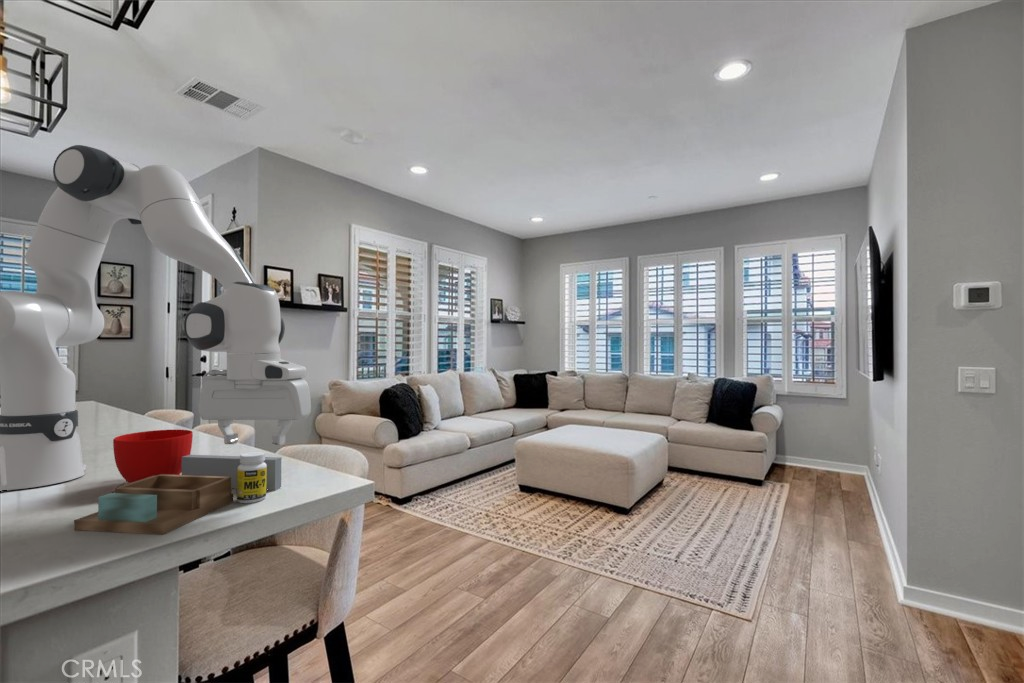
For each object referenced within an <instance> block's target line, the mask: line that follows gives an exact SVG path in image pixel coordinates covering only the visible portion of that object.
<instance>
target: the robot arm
mask: <svg viewBox="0 0 1024 683" xmlns="http://www.w3.org/2000/svg"><path fill="white" fill-rule="evenodd" d="M52 167H53V168H52V173H53V179H54V181H55V184H56V185H57V188H56V189H55V190H54V191H53V193H52V194H51V195H50V197H49V199H48V200H47V202H46V204H45V205H44V208H43V210H42V211H41V214H40V215H39V218H38V221H37V224H36V225H35V228H34V231H33V233H32V236H31V238H30V241H29V245H28V247H27V250H26V253H25V257H24V258H25V262H26V264H27V265H28V267H29V268H31V270H33V272H34V273H35V277H36V291H35V292H33V293H32V292H26V291H25V292H24V291H18V290H2V291H0V491H1V492H3V491H2V490H7V491H12V490H13V491H14V490H23V489H29V488H30V489H31V488H37V487H43V486H49V485H54V484H59V483H64V482H68V481H71V480H75V479H78V478H80V477H83V476H84V475H85V473H86V472H85V470H87V464H85V463H83V456H82V455H83V454H82V446H81V439H80V435H79V433H78V432H77V427H78V426H79V419H80V417H79V411H78V410H77V409H76V394H77V393H76V390H77V388H76V387H77V386H76V385H77V384H76V382H77V381H76V380H77V378H76V374H75V373H74V372H73V371H72V370H71V369H70V368H68V367H67V366H66V365H64V363H63V362H62V360H61V358H60V356H59V352H58V350H57V347H73V346H78V345H82V344H87V343H91V342H93V341H95V340H96V339H97V338H98V337H100V335H102V333H103V331H104V328H105V317H104V315H103V312H102V311H101V309H99V307H98V306H97V301H96V295H95V294H96V293H95V290H96V289H95V286H96V277H97V272H98V269H99V267H100V263H101V262H102V261H101V260H102V258H103V255H104V252H105V249H106V246H107V244H108V241H109V237H110V235H111V232H112V229H113V227H114V225H115V223H117V222H119V221H120V220H125V219H127V220H128V221H129V223H130V224H131V225H142V228H143V230H144V232H145V233H144V234H145V235H146V236H147V238H148V239H149V241H150V242H151V244H152V245H153V246H154V248H156V250H157V251H159V252H160V253H161V254H163V255H165V256H167V257H168V258H171V259H173V260H175V261H179V262H180V263H184V264H187V265H189V266H191V267H194V268H196V269H198V270H200V271H202V272H205V273H206V274H209V275H210V276H212V277H213V278H214V279H216V280H217V281H218V282H219V283H220V284H221V286H222V287H223V289H224V290H225V291H224V292H223V293H222V294H220V295H217V296H216V297H214V298H211V299H209V300H207V301H202V302H201V301H200V302H198V303H196V304H195V305H193V306H192V307H191V308H190V309H189V310H188V312H187V314H186V316H185V317H184V322H183V326H184V327H183V328H184V329H183V330H184V333H185V337H186V339H187V341H188V342H189V344H190V345H191V346H192V347H193V348H194V349H196V350H199V351H203V352H210V353H217V352H218V353H221V352H222V353H223V352H225V353H226V369H210V370H209V371H208V372H206V373H204V375H202V378H201V388H200V394H199V400H198V416H199V417H200V418H201V420H203V421H210V420H211V421H217V427H218V429H219V430H220V432H221V434H223V443H224V445H234V444H237V443H238V442H239V439H238V437H239V433H235V432H234V430H233V428H232V425H233V423H234V422H233V421H277V427H280V428H279V429H278V432H277V433H276V434H273V435H272V437H271V438H272V441H271V443H272V446H281V445H284V444H286V434H287V433H288V431H289V430H290V428H291V426H292V421H301V420H304V419H307V418H308V417H309V415H310V414H311V411H312V410H311V409H312V402H311V399H312V398H311V390H310V386H309V384H308V382H307V380H305V378H306V377H307V375H308V371H307V367H306V366H304V365H301V364H298V363H295V362H292V361H289V360H286V359H283V358H282V353H281V348H280V343H281V342H282V340H283V338H284V337H285V336H284V335H285V331H286V330H285V329H286V327H285V322H284V318H283V316H282V315H281V306H280V300H279V297H278V293H277V291H276V289H274V288H273V287H272V286H269V285H267V284H258V283H257V281H256V280H255V278H254V277H253V274H252V273H251V272H250V270H249V268H248V266H247V265H246V263H245V262H244V260H243V259H242V256H240V255H239V253H238V251H237V250H236V249H235V248H234V247H233V246H232V245H231V244H230V243H229V242H228V241H227V240H226V239H225V238H224V237H223V236H222V235H221V233H219V231H218V229H216V227H215V226H214V225H213V223H212V221H211V220H210V218H209V217H208V216H207V213H206V212H205V208H204V206H203V204H202V202H201V201H200V198H199V197H198V195H197V194H196V192H195V190H194V189H193V187H192V185H190V183H189V181H188V180H187V179H186V178H185V176H184V175H183V174H182V173H181V172H180V171H178V170H177V169H175V168H173V167H171V166H167V165H162V164H151V165H146V166H144V167H141V166H140V165H137V164H135V163H131V162H128V161H126V160H123V159H121V158H119V157H116V156H113V155H111V154H108V153H107V152H106V151H104V150H101V149H98V148H95V147H92V146H88V145H81V144H75V145H71V146H69V147H66V148H65V149H63V150H62V151H61V152H60V153H59V154H58V155H57V156H56V157H55V160H54V163H53V166H52Z"/></svg>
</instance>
